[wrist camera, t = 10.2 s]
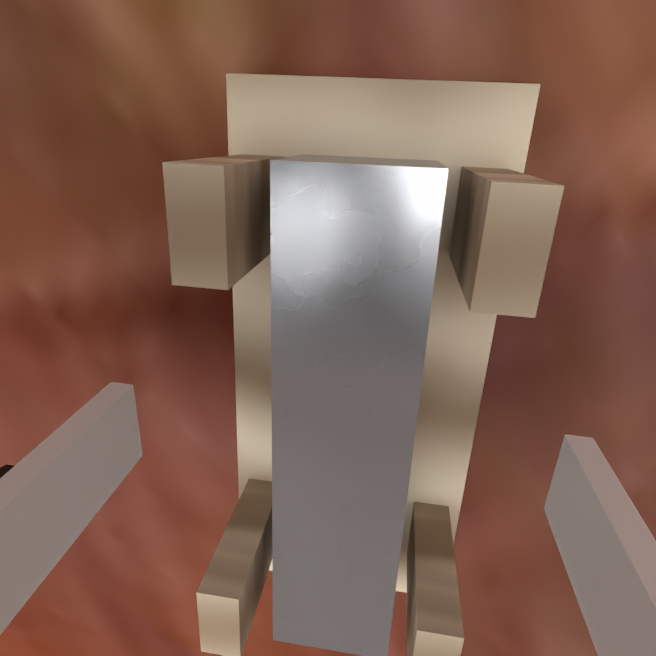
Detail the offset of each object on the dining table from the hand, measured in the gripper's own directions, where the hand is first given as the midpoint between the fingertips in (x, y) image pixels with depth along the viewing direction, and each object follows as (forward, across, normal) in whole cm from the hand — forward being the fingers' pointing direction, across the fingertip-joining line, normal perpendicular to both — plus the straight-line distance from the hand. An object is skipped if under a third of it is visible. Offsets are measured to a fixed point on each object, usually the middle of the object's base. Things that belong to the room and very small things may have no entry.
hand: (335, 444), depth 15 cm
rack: (+7, 0, -1) cm, 7 cm away
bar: (+5, 0, -1) cm, 5 cm away
